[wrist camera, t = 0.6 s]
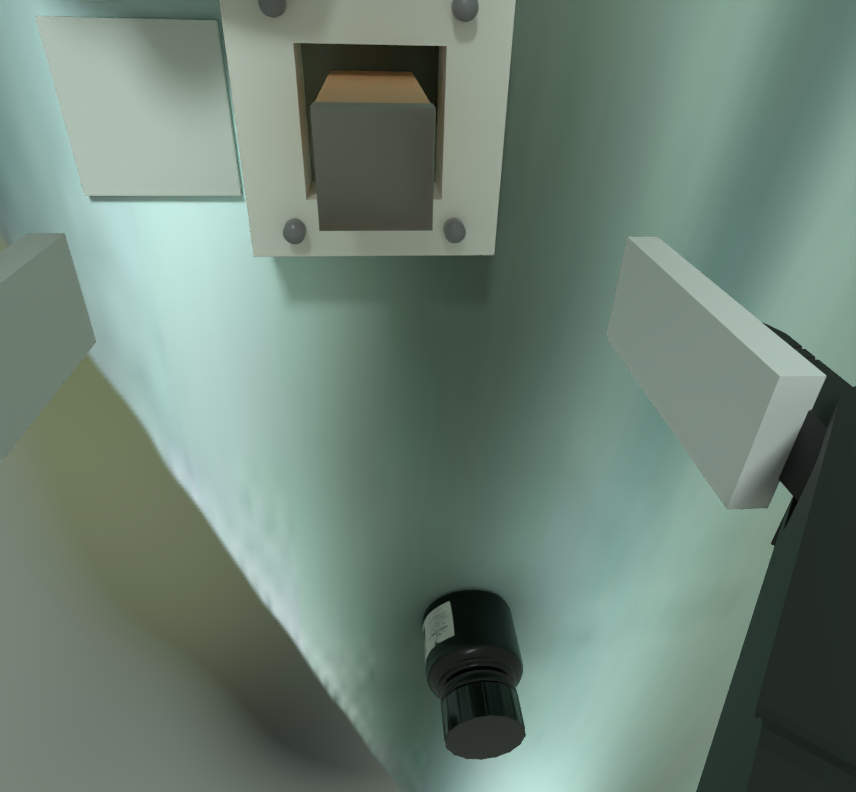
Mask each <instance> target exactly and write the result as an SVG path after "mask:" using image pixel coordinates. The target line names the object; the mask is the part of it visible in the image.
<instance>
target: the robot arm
mask: <svg viewBox="0 0 856 792" xmlns="http://www.w3.org/2000/svg"><path fill="white" fill-rule="evenodd" d="M606 338H607V340H608V341H609V342H610V344H611V345H612V347H613V348H614V349H615V351H616V352H617V354H618V355H619V357H620V358H621V359H622V361H623V362H624V364H625V365H626V367H627V368H628V369H629V371H630V372H631V374H632V375H633V376H634V378H635V379H636V381H637V382H638V384H639V385H640V386H641V388H642V389H643V391H644V392H645V394H646V395H647V396H648V398H649V399H650V401H651V402H652V404H653V405H654V406H655V408H656V409H657V411H658V412H659V413H660V415H661V416H662V418H663V419H664V421H665V422H666V423H667V425H668V426H669V428H670V429H671V431H672V432H673V433H674V435H675V436H676V438H677V439H678V440H679V442H680V443H681V445H682V446H683V448H684V449H685V450H686V452H687V453H688V455H689V456H690V458H691V459H692V460H693V462H694V463H695V465H696V466H697V468H698V469H699V470H700V472H701V473H702V475H703V476H704V477H705V479H706V480H707V482H708V483H709V485H710V486H711V487H712V489H713V490H714V492H715V493H716V495H717V496H718V497H719V499H720V500H721V502H722V503H723V505H724V506H725V507H726V509H752V508H768V506H769V504H770V502H771V499H772V497H773V495H774V493H775V491H776V488H777V486H778V484H779V482H780V481H781V482H782V483H783V485H784V486H785V487H786V488H787V489H788V491H789V492H790V493H791V494H792V495H793V498H792V500H791V502H790V504H789V506H788V508H787V510H786V512H785V515H784V517H783V519H782V521H781V523H780V525H779V527H778V529H777V532H776V534H775V536H774V538H773V540H772V542H771V544H772V545H774V546H775V547H774V550H773V553H772V556H771V559H770V562H769V566H768V569H767V572H766V575H765V578H764V581H763V584H762V587H761V591H760V594H759V597H758V600H757V603H756V606H755V609H754V612H753V616H752V619H751V622H750V625H749V628H748V631H747V634H746V637H745V641H744V644H743V647H742V650H741V653H740V656H739V659H738V662H737V666H736V669H735V672H734V675H733V678H732V681H731V684H730V688H729V691H728V694H727V697H726V700H725V703H724V706H723V709H722V713H721V716H720V719H719V722H718V725H717V728H716V731H715V734H714V738H713V741H712V744H711V747H710V750H709V753H708V756H707V759H706V763H705V766H704V769H703V772H702V775H701V778H700V781H699V785H698V788H697V791H696V792H856V386H855V387H852V386H851V385H850V384H848V383H847V382H846V381H845V380H843V379H842V378H841V377H840V376H838V375H837V374H836V373H835V372H833V371H832V370H831V369H830V368H828V367H827V366H826V365H825V364H823V363H822V362H821V361H820V360H815V356H813V355H812V354H811V353H810V352H808V351H807V350H806V349H802V346H801V345H800V344H798V343H797V342H796V341H795V340H793V339H792V338H791V337H790V336H788V335H787V334H786V333H784V332H782V331H780V330H777V329H775V328H773V327H771V326H769V325H767V324H765V323H763V322H761V321H759V320H758V319H757V318H756V317H755V316H753V315H752V314H751V313H750V312H748V311H747V310H746V309H745V308H744V307H742V306H741V305H740V304H739V303H737V302H736V301H735V300H734V299H733V298H731V297H730V296H729V295H728V294H727V293H725V292H724V291H723V290H722V289H720V288H719V287H718V286H717V285H716V284H714V283H713V282H712V281H711V280H710V279H708V278H707V277H706V276H705V275H703V274H702V273H701V272H700V271H699V270H697V269H696V268H695V267H694V266H692V265H691V264H690V263H689V262H688V261H686V260H685V259H684V258H683V257H682V256H680V255H679V254H678V253H677V252H675V251H674V250H673V249H672V248H671V247H669V246H668V245H667V244H666V243H664V242H663V241H662V240H661V239H660V238H658V237H627V241H626V246H625V251H624V255H623V260H622V265H621V269H620V274H619V279H618V284H617V288H616V293H615V298H614V302H613V307H612V312H611V316H610V321H609V326H608V331H607V335H606ZM95 343H96V339H95V336H94V333H93V329H92V326H91V322H90V319H89V315H88V312H87V309H86V305H85V302H84V298H83V295H82V291H81V288H80V284H79V281H78V278H77V274H76V271H75V267H74V264H73V260H72V257H71V254H70V250H69V247H68V243H67V240H66V236H65V233H28V234H27V235H25V236H24V237H23V238H21V239H20V240H18V241H17V242H15V243H14V244H12V245H11V246H10V247H8V248H7V249H5V250H4V251H2V252H1V253H0V463H1V461H2V460H3V459H4V458H5V456H6V455H7V454H8V452H9V451H10V450H11V449H12V448H13V446H14V445H15V444H16V442H17V441H18V440H19V438H20V437H21V436H22V435H23V434H24V432H25V431H26V430H27V429H28V427H29V426H30V425H31V424H32V422H33V421H34V420H35V418H36V417H37V416H38V415H39V413H40V412H41V411H42V410H43V408H44V407H45V406H46V405H47V403H48V402H49V401H50V400H51V398H52V397H53V396H54V394H55V393H56V392H57V391H58V389H59V388H60V387H61V386H62V384H63V383H64V382H65V380H66V379H67V378H68V377H69V376H70V374H71V373H72V372H73V370H74V369H75V368H76V366H77V365H78V364H79V363H80V362H81V360H82V359H83V358H84V357H85V355H86V354H87V353H88V352H89V350H90V349H91V348H92V347H93V345H94V344H95Z"/></svg>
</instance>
